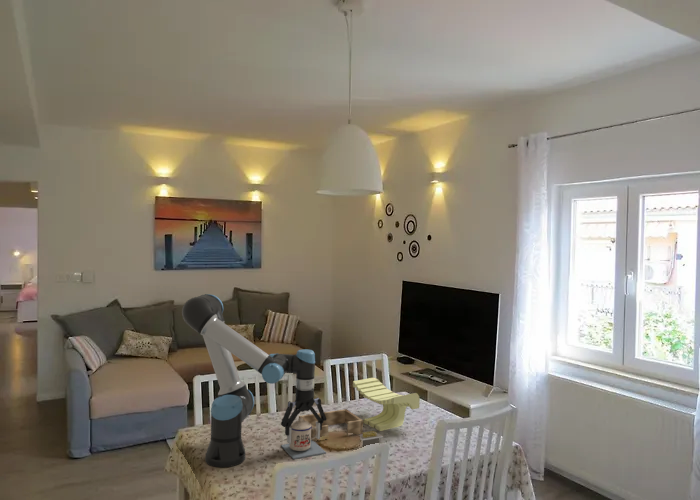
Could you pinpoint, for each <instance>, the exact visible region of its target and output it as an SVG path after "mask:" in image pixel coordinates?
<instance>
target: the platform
mask: <svg viewBox="0 0 700 500" xmlns="http://www.w3.org/2000/svg"><path fill="white" fill-rule="evenodd" d="M381 438H383V435H382V434H381V433H380V434H379V433H378V431H375V430H372V431H371V430H370V431H365V432H364V431H363V434H360V437H359V439H360V440H361V441H362V444H361V446H362V447H364V446H366V445H370V444H375V443H379V444H380V439H381ZM362 447H361V448H362Z"/></svg>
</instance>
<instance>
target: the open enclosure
mask: <svg viewBox="0 0 700 500" xmlns="http://www.w3.org/2000/svg"><path fill="white" fill-rule="evenodd" d="M324 413H325V416H326V421H323V423H322V430H320V437H322V436H325V435H328V436H329V426H332V425H333V426H334V425H340V424H346V425H347V429H346V430H347V431H346V433H347V432H348V433H353V434H357V435H363V432H364V423H363V421H364V419H363V418H360V417H359V416H357V415H356V414H355V413H353V412H351V411H350V410H348V409H345V408H344V409H338V410H332V411H330V410H329V411H325V412H324ZM317 414H318V415H319V417H320V418H321V415H320V413H319V412H317ZM299 418H303V420H304V421H306V422H309V423H310V424H311V426H312V427H315V428H316V421H318V420H317V419H316V417H315V416H314V415H313V413H309V414H304V415H303V414H302V415H298V419H299ZM314 434H315V429H312V430H311V437H313V436H314ZM357 435H356V436H357ZM312 440H313V441H314V442H315V443H317V442H318V441H317V438H316V437H315V438H314V439H312ZM316 441H317V442H316Z"/></svg>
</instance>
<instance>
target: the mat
mask: <svg viewBox="0 0 700 500" xmlns="http://www.w3.org/2000/svg"><path fill="white" fill-rule="evenodd" d="M289 445H290V444H289V443H284V444H281V445H280V446H281V448H282V449H283V450H284V452H286V453H287V454H288V456H289V457H291V459H292V460H293V461H294V460H298V459H299V460H301V459H304V458H309V457H314V456H320V455H321V456H322V455H326V454H327V452H326V451H325V450H324V449H323V448H322V447H321V446H320V445H319V444H318V443H317V442H314V441H313V440H311V446H310V448H309V449H307V450H304V451H296V450H292V449H291V448H290V446H289Z"/></svg>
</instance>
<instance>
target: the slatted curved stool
mask: <svg viewBox="0 0 700 500" xmlns="http://www.w3.org/2000/svg"><path fill="white" fill-rule="evenodd" d="M352 388H356V391H357V392H359V395H363V398H365V399H367V400H369V401H372V402H374V403H377V404H379V405H381V406H382V411H381V412H380V413H378V414H377V415H376V414H375V415H374V416H371V417H367V418H364V419H363V424H365V425H367V426H369V427H371V428H373V429H375V430H377V431H379V432H383V431H387V430H390V429H395V428H398V427H401V426H403V425H404V421H405V416H406V409H407V408H409V409H411V410H416V409H420V402H421V401H420V400H421V399H420V396H419V394H418V393H417V392H413V393H408V394H399V393H396V392H394V391H392V390H390V389H388V388H387V386H385V385H384V383H382V382H381V381H380V379H378V378H377V377H376V378H375V377H369V378H363V379H358V380H353V381H352Z"/></svg>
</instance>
